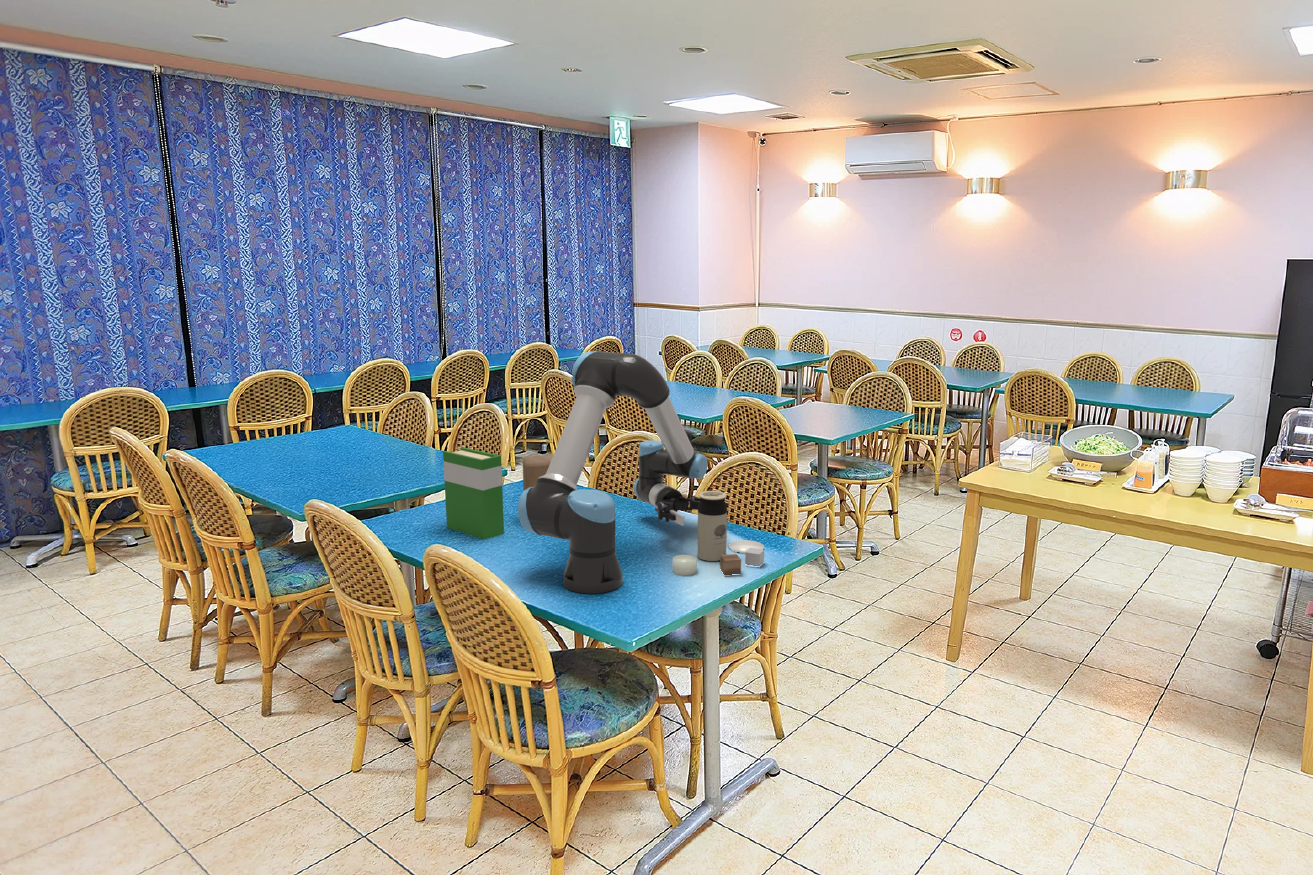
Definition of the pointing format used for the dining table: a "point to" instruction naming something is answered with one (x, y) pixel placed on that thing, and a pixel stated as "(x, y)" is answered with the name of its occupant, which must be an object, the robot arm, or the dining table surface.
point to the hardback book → (474, 492)
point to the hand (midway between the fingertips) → (704, 517)
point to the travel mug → (712, 525)
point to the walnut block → (730, 564)
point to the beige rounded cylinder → (684, 565)
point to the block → (534, 469)
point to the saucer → (745, 545)
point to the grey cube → (754, 557)
